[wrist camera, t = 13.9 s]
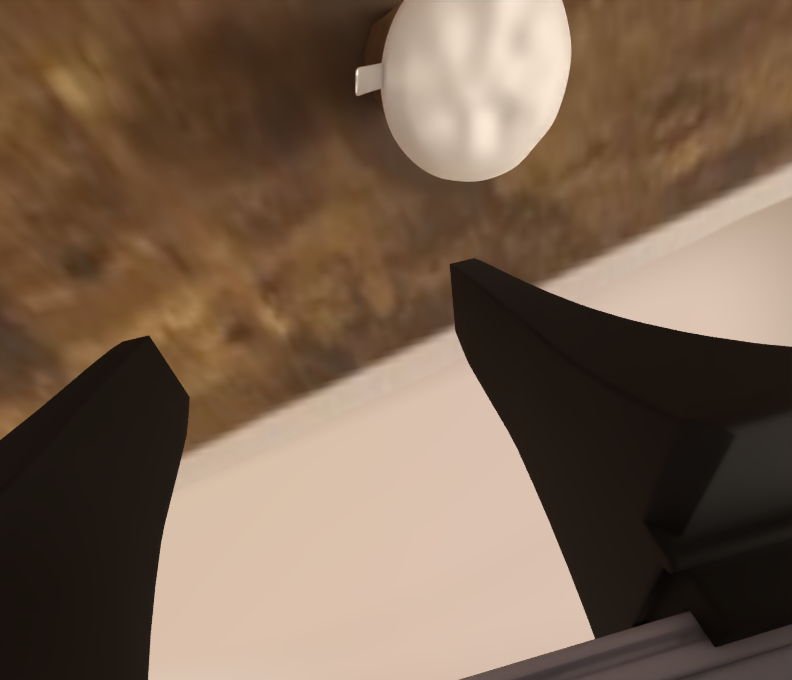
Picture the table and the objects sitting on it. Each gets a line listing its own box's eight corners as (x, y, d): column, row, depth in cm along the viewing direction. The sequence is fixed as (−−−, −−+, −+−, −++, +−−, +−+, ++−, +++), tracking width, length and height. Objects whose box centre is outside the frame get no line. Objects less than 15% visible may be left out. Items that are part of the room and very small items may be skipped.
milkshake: (321, -29, 14) (357, -96, 6) (471, -11, 15) (661, -50, 7) (325, 121, 17) (353, 205, 9) (452, 127, 18) (577, 206, 10)
